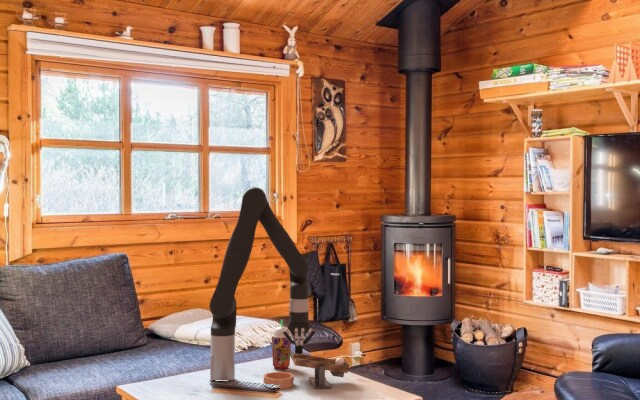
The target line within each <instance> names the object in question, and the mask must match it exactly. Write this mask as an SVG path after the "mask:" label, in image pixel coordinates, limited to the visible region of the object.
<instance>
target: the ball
mask: <svg viewBox="0 0 640 400" xmlns="http://www.w3.org/2000/svg"><path fill="white" fill-rule="evenodd" d="M344 359H345V358H343V357H337V358H336V361H335V363H336V364H339V365H344V364H345V361H344Z"/></svg>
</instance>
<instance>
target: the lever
mask: <svg viewBox="0 0 640 400" xmlns="http://www.w3.org/2000/svg"><path fill="white" fill-rule="evenodd" d="M290 359H291V361H292V363H293V364H294V366H297V367H305V368H309V369H310V368H312V369H314V370H315V369H319V366H325V371H329V372H330V373H331V376H332V377H338V378H344V376H345V374H349V373H348V372H349V368H350V363H349V362H348V361H347V359H346V358H343V359H344V361H345V364H344V365H339V364H336V363H335V361H336V359H337V358H336V359H334V358H329V357H323V356H322V357H321V356H315V355H308V354H303V353H302V354H296V353H295V352H290Z"/></svg>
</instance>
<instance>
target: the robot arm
mask: <svg viewBox="0 0 640 400" xmlns="http://www.w3.org/2000/svg"><path fill="white" fill-rule="evenodd" d="M258 222H260V224H261V225H262V227H263V229H264V231H265V232H266V234H267V236H268V238H269V240H270V242H271V244H273V247H274V249H275V250H276V252H278V254H279V255H280V257H281V258H282V259H284V261H285V263H286V265H287V267H288V269H289V270H288V271H289V283H290V285H289V286H290V287H289V306H288V310H289V311H288V312H289V313H288V314H289V315H288V321H289V322H288V326H287V327H286V328H287V329H286V330H284V331H283V334H284V335H285V336H286V338H287V339H288V340H289V341H290V343H291V345H294V353H296V354H303V352H304V350H303V346H304V345H307V344H308V343H309V341H310V340H312V337H313V336H314V335H315V334H316V331H315V330H314V329H313V328H311V326H310V324H309V322H310V321H309V320H310V319H309V317H310V316H309V314H310V313H309V312H310V309H309V308H310V305H309V302H310V301H309V286H308V282H307V281H308V277H307V276H308V273H309V271H310V265H309V262H308V261H307V260H306V259H305V257H304V256H303V254H302V253H301V252H300V251H299V249H298V248H297V246H296V244H295V242H294V241H293V239H292V238H291V235H289V233H288V232H287V230H286V229H285V228H284V226H283V225H282V224H281V222H280V221H279V219H278V218H277V217H276V215H275V213H274V211H273V210H272V208H271V206H270V204H269V201H268V198H267V195H266V193H265V191H264V189H261V187H256V186H253V187H249V188H247V189H246V190H245V191H244V192H243V195H242V198H241V206H240V210H239V215H238V219H237V222H236V225H235V227H234V229H233V231H232V232H231V236H230V238H229V241H228V244H227V247H226V250H225V253H224V258H223V261H222V266H221V269H220V274H219V278H218V282H217V285H216V287H215V290H214V291H213V294H212V296H211V298H210V301H209V311H210V313H211V314H212V322H211V326H210V358H209V359H210V366H209V367H210V376H209V377H210V378H209V380H210V382H214V381H213V380H231V381H233V380H235V375H236V372H235V371H236V370H235V367H236V365H235V364H236V363H235V361H236V359H235V358H236V356H235V355H236V352H235V350H236V327H237V305H238V304H237V300H236V297H235V295H236V291H237V288H238V284H239V283H240V280H241V278H242V276H243V274H244V272H245V270H246V269H247V265H248V263H249V260H250V258H251V254H252V250H253V247H254V242H255V236H256V230H257V225H258ZM289 331H290V333H291V334H292V336H293V338H291V337H290V336H289ZM307 333H308V334H307ZM306 335H307V336H306ZM305 336H306V337H305ZM304 337H305V338H304Z"/></svg>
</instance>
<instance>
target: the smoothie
mask: <svg viewBox="0 0 640 400" xmlns="http://www.w3.org/2000/svg"><path fill="white" fill-rule="evenodd" d="M287 328H288V327H287V326H283V319H280V325H279V326H277V327H276V328H274V330H273V331H272V333H271V335H270V337H271V352H272V367H274V368H273V369H274V370H276V371H285V370H288V369H289V367H290V363H291V356H290V353H292V352H291V350H292V349H291V348H292V344H291V343H290V341H289V340H288V339H287V338H286V336H285V335H284V334H283V331H284V330H286V329H287ZM289 336H290V337H291V339H293V338H292V336H293V335H292V333H291V332H290V331H289Z"/></svg>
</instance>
